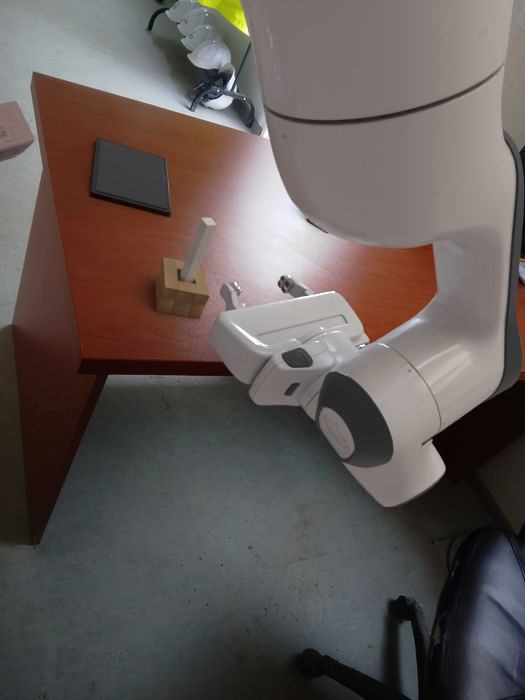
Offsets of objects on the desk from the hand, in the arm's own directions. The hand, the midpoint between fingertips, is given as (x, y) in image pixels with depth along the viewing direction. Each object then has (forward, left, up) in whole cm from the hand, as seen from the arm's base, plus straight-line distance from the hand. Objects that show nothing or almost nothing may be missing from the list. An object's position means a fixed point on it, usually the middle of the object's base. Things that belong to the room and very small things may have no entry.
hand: (256, 282), depth 56 cm
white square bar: (-5, +11, -15) cm, 19 cm away
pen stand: (-5, +11, -15) cm, 19 cm away
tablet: (-12, +43, -15) cm, 47 cm away
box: (+32, +47, -15) cm, 59 cm away
